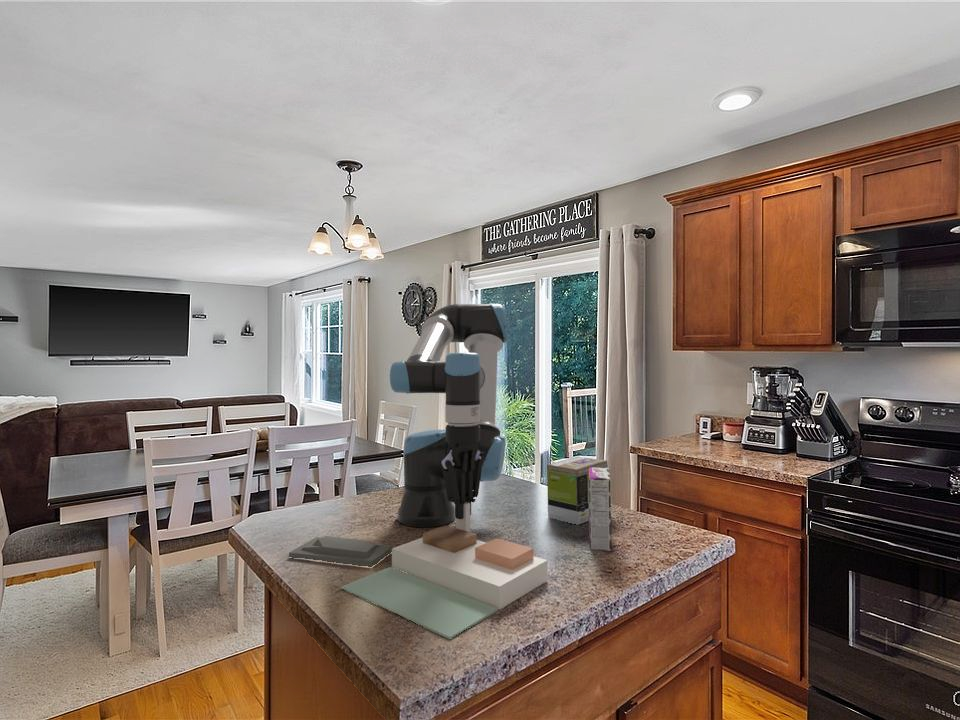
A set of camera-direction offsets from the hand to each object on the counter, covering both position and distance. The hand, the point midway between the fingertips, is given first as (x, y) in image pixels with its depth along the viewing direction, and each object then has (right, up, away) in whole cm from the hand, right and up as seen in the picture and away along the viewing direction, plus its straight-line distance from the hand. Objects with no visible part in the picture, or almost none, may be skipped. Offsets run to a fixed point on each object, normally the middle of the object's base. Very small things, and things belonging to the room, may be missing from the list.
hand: (463, 532), depth 116 cm
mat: (-8, -6, -20) cm, 22 cm away
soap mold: (-27, -6, +1) cm, 27 cm away
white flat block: (+1, -5, -9) cm, 11 cm away
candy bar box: (+31, -5, +8) cm, 33 cm away
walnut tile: (-3, -1, -3) cm, 4 cm away
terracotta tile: (+8, -1, -12) cm, 14 cm away
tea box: (+30, -5, +29) cm, 42 cm away
